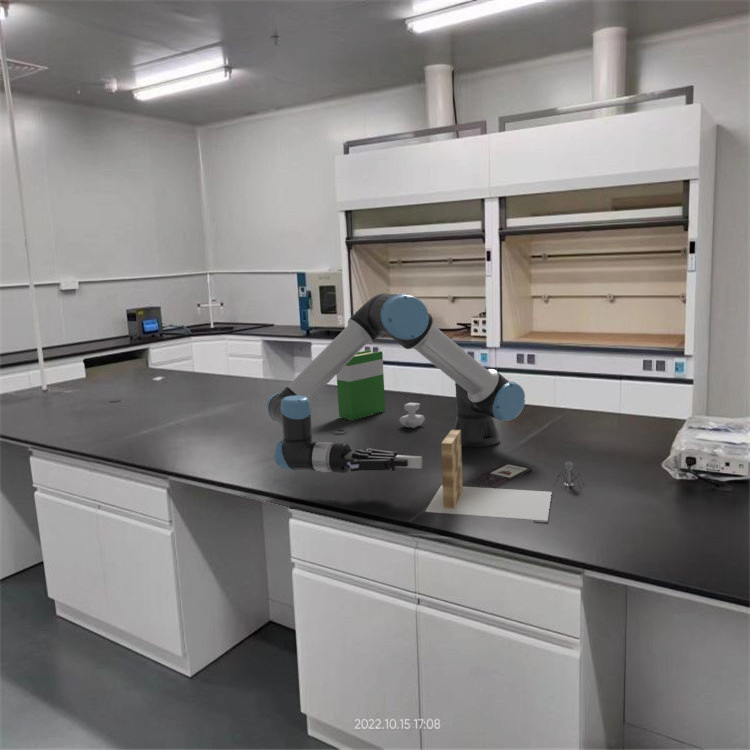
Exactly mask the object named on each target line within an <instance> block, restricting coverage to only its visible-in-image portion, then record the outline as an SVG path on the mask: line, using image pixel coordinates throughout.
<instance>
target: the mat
mask: <svg viewBox="0 0 750 750" xmlns="http://www.w3.org/2000/svg"><path fill="white" fill-rule="evenodd" d="M552 494H553V492H552V491H544V490H542V491H541V490H530V489H529V490H527V489H513V488H512V489H510V488H508V489H507V488H491V487H477V486H463V491H462V493H461V495H460V497H459V499H458V501H457V503H456V505H455V507H454V509H452V508H444V506H443V484H442V485H440V487H439V488H438V490H437V491H436V493H435V495H434V496H433V498H432V499H431V501H430V503H429V505H428V506H427V508H426V509H425V510H424V511H425V513H434V514H435V513H438V514H451V515H464V516H478V517H479V516H480V517H491V518H492V517H493V518H503V519H506V518H507V519H516V520H517V519H518V520H520V519H521V520H530V521H531V520H532V521H533V522H534V523H545V522H546V523H548V521H549V516H550V510H551V509H550V507H551V503H550V502H551V501H552V496H551V495H552ZM549 509H550V510H549Z"/></svg>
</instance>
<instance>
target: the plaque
mask: <svg viewBox="0 0 750 750" xmlns="http://www.w3.org/2000/svg"><path fill="white" fill-rule="evenodd" d="M448 432H449V433H447V434H446V437H444V439H443V440H442V441H441V442H440V443H441V446H440V447H441V449H440V450H441V471H442V472H441V474H442V475H441V476H442V485H443V506H444V508H452V509H454V507H455V505H456V503H457V501H458V499H459V497H460V495H461V493H462V491H463V487H464V486H463V463H462V462H463V459H462V457H463V456H462V455H463V454H462V446H461V430H453V429H451V430H450V431H448Z"/></svg>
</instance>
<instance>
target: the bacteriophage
mask: <svg viewBox="0 0 750 750" xmlns="http://www.w3.org/2000/svg"><path fill="white" fill-rule="evenodd" d="M573 466H574V465H573V462H571V461H566V462H564V468H565V469H566V471H565V473H562V471H560V473H559V474H558V475H557V478H556V479H555V482H554V484H553V486H555V484H556V483H557V482H558V481H559V478H560V477H561V476H562V477H563V478H564V481H565V482H564V484H563V486H564V485H565V486H564V487H565V489H564V491H565V490H567V488H570V487H569V486H573V485H574V483H573V482H574V481H575V480H576V479H577V483H578V486H579V489H581V485H580V483H579V480H578V476H579V477H580V479H581V482H582V484H583V485H585V483H584V482H583V480H582V477H581V476H580V473H578V474H577V475H575V476H574V474H573V472H572V469H573ZM565 474H566V477H565ZM566 486H568V487H566ZM581 490H582V489H581Z"/></svg>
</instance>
